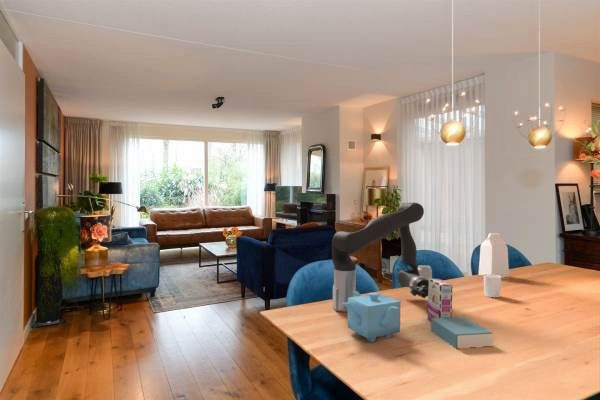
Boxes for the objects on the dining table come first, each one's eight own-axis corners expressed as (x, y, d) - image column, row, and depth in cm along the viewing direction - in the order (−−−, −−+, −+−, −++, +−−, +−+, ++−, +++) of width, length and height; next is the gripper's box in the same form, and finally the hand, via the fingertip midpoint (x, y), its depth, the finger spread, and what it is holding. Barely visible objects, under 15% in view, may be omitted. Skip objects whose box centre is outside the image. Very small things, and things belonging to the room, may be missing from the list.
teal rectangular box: (455, 350, 126) (456, 334, 125) (431, 332, 142) (431, 318, 141) (492, 347, 128) (493, 332, 128) (464, 330, 144) (464, 316, 144)
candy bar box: (452, 328, 144) (453, 284, 144) (439, 328, 144) (440, 284, 143) (439, 318, 155) (439, 278, 155) (427, 319, 155) (427, 278, 154)
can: (432, 291, 199) (432, 267, 199) (417, 290, 200) (417, 267, 200) (430, 287, 206) (431, 265, 206) (416, 286, 208) (416, 264, 207)
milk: (491, 278, 228) (492, 234, 227) (478, 274, 239) (479, 232, 238) (509, 278, 230) (509, 234, 230) (495, 274, 241) (496, 232, 241)
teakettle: (401, 329, 143) (401, 289, 143) (398, 348, 125) (398, 303, 125) (350, 323, 149) (350, 285, 149) (340, 341, 131) (341, 298, 131)
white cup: (483, 297, 188) (484, 276, 187) (482, 293, 195) (483, 273, 195) (501, 299, 185) (502, 278, 184) (500, 295, 192) (500, 274, 192)
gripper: (404, 277, 170) (417, 286, 153) (436, 277, 170) (453, 286, 154) (404, 294, 170) (417, 305, 154) (436, 294, 170) (452, 305, 154)
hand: (435, 295), depth 154 cm, fingers open, 8 cm apart
